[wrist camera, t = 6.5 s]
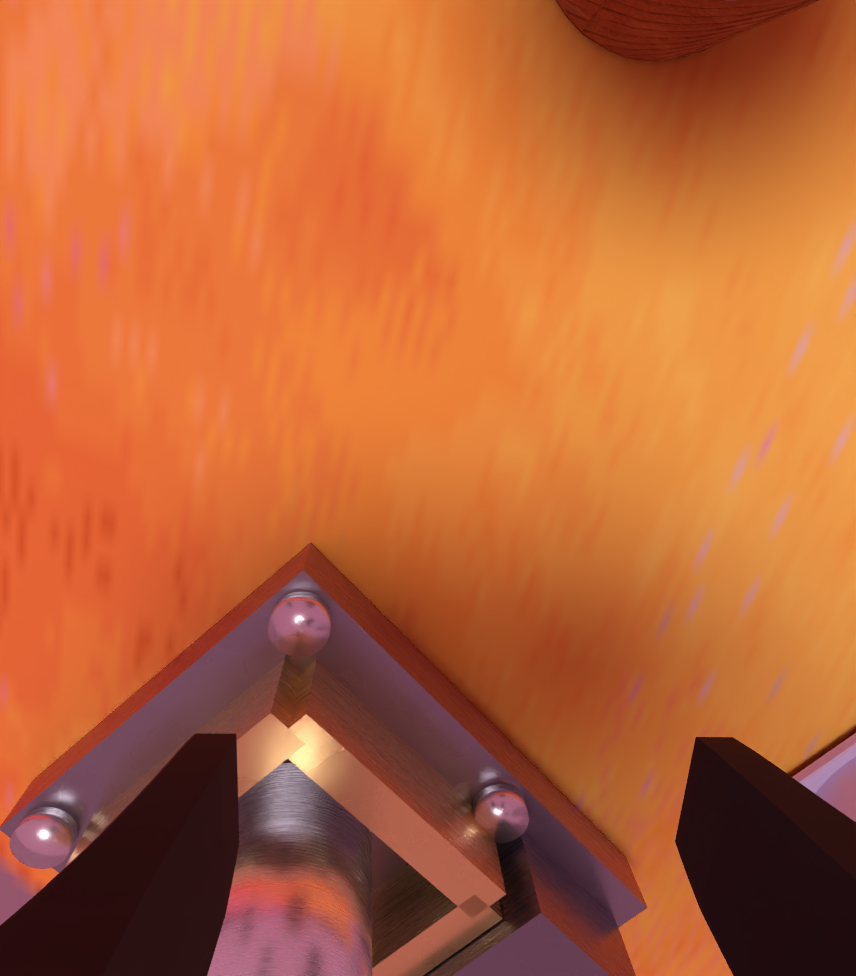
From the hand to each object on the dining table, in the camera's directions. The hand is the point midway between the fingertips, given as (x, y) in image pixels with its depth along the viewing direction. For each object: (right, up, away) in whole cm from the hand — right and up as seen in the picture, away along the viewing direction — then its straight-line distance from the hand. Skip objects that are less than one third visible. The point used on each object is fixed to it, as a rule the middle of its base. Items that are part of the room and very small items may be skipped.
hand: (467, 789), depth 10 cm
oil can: (-4, -5, +9) cm, 12 cm away
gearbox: (-3, -6, +12) cm, 14 cm away
